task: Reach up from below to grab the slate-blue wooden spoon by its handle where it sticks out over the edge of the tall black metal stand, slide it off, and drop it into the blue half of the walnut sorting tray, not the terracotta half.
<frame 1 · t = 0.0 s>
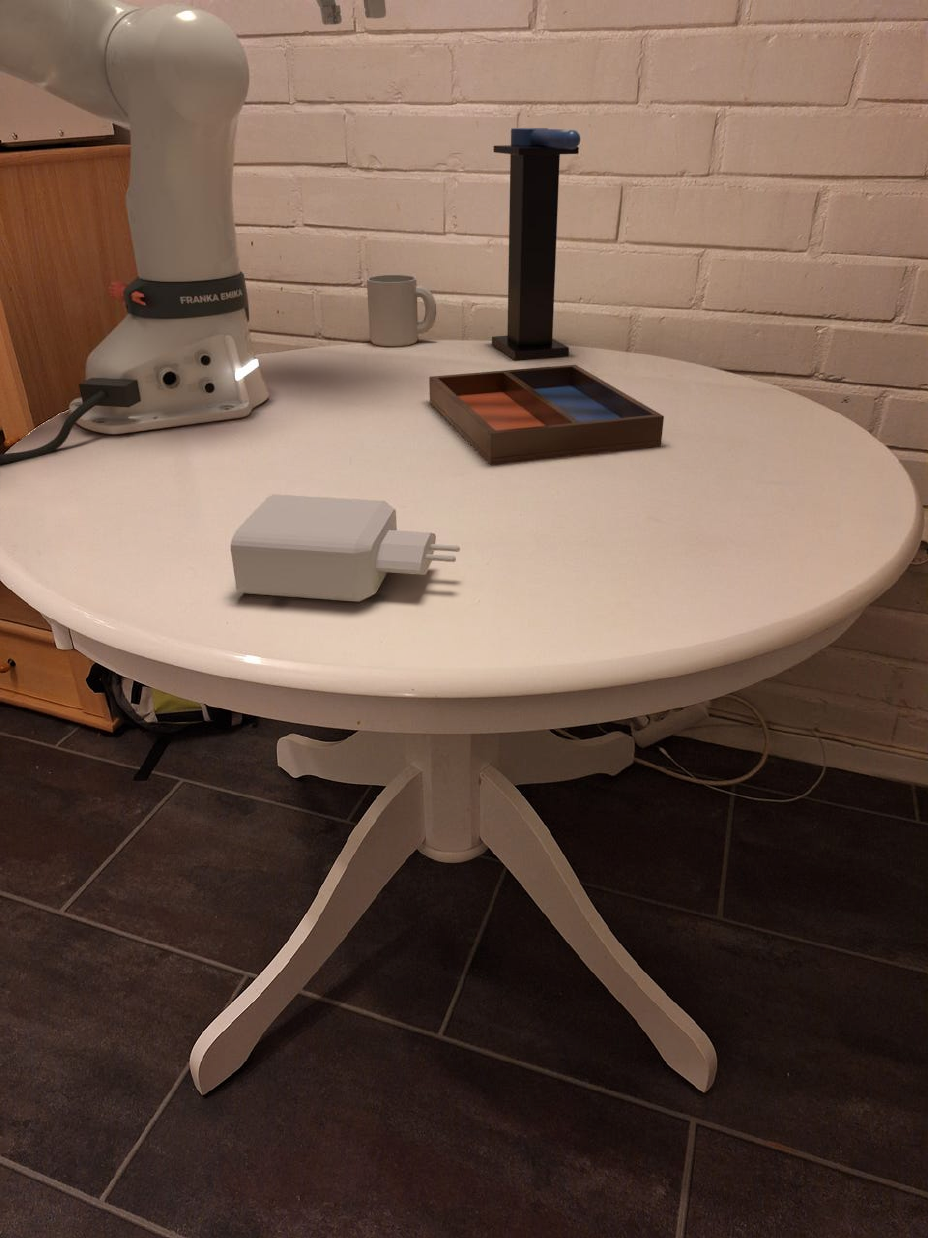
hand: (353, 21, 102), 39 cm above the table, tool pointing down, fingers open, 8 cm apart
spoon: (540, 146, 116), point 26 cm above the table, touching spoon stand
spoon stand: (529, 350, 130), on the table
cup: (403, 342, 136), on the table
charger: (357, 580, 67), on the table
sorting tray: (537, 422, 100), on the table
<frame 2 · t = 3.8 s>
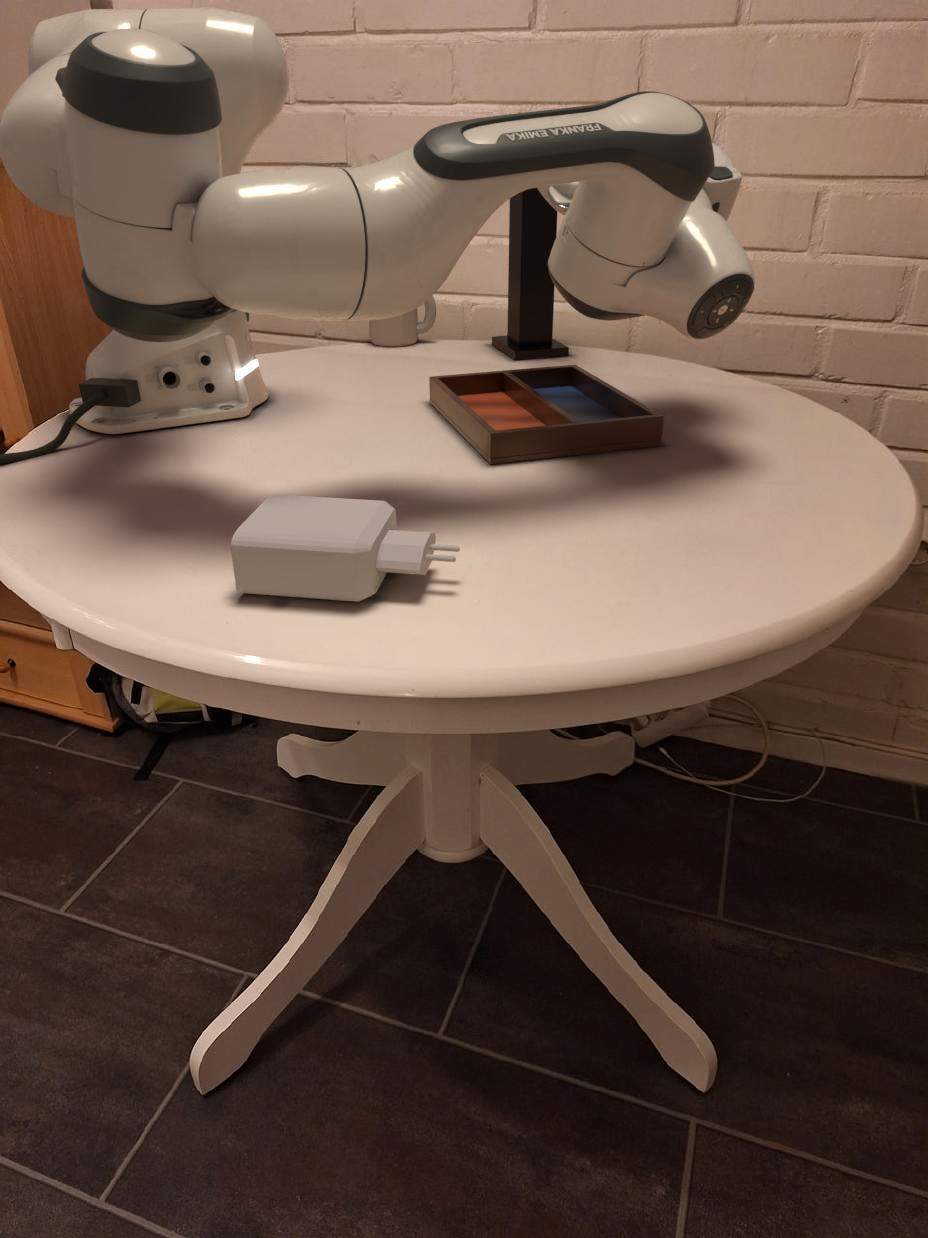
hand: (607, 134, 97), 28 cm above the table, tool pointing upward, fingers open, 8 cm apart
nothing on the table moved.
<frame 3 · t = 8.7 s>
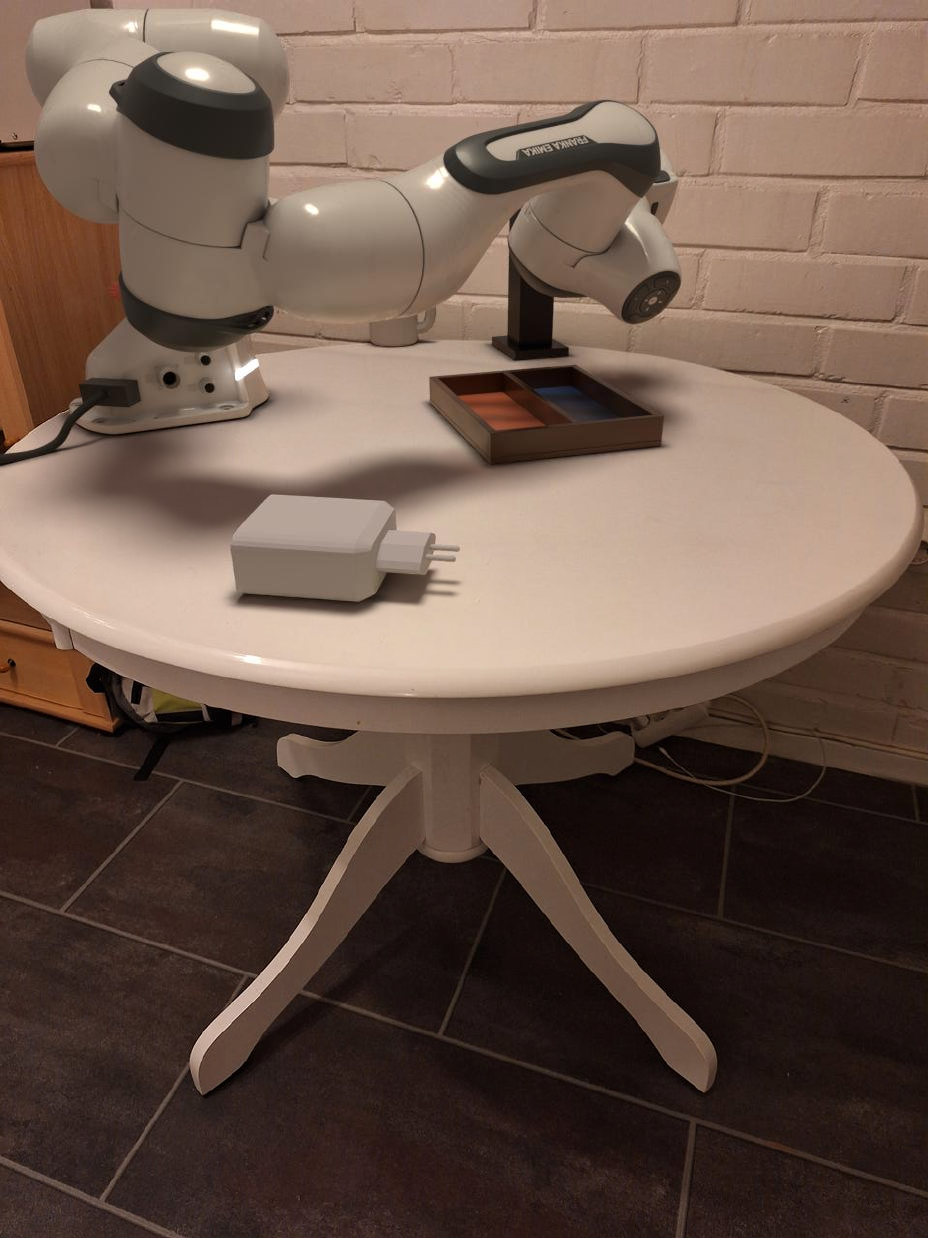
hand: (564, 134, 109), 27 cm above the table, tool pointing upward, fingers closed on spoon, 2 cm apart
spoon: (540, 146, 116), point 26 cm above the table, touching gripper, spoon stand
everything else where it was.
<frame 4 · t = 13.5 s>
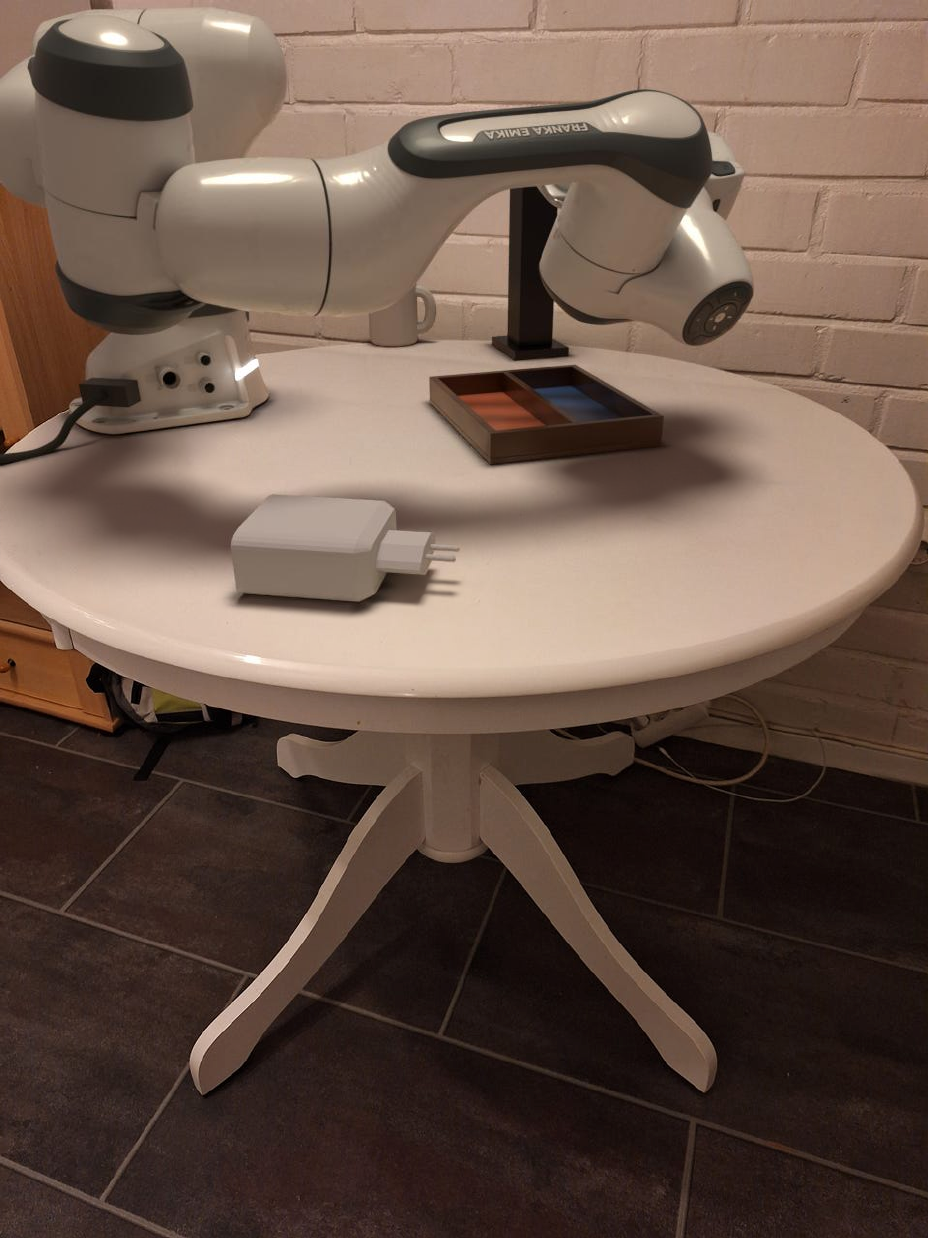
hand: (605, 120, 93), 29 cm above the table, tool pointing upward, fingers closed on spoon, 2 cm apart
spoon: (575, 134, 100), point 28 cm above the table, touching gripper
everything else where it was.
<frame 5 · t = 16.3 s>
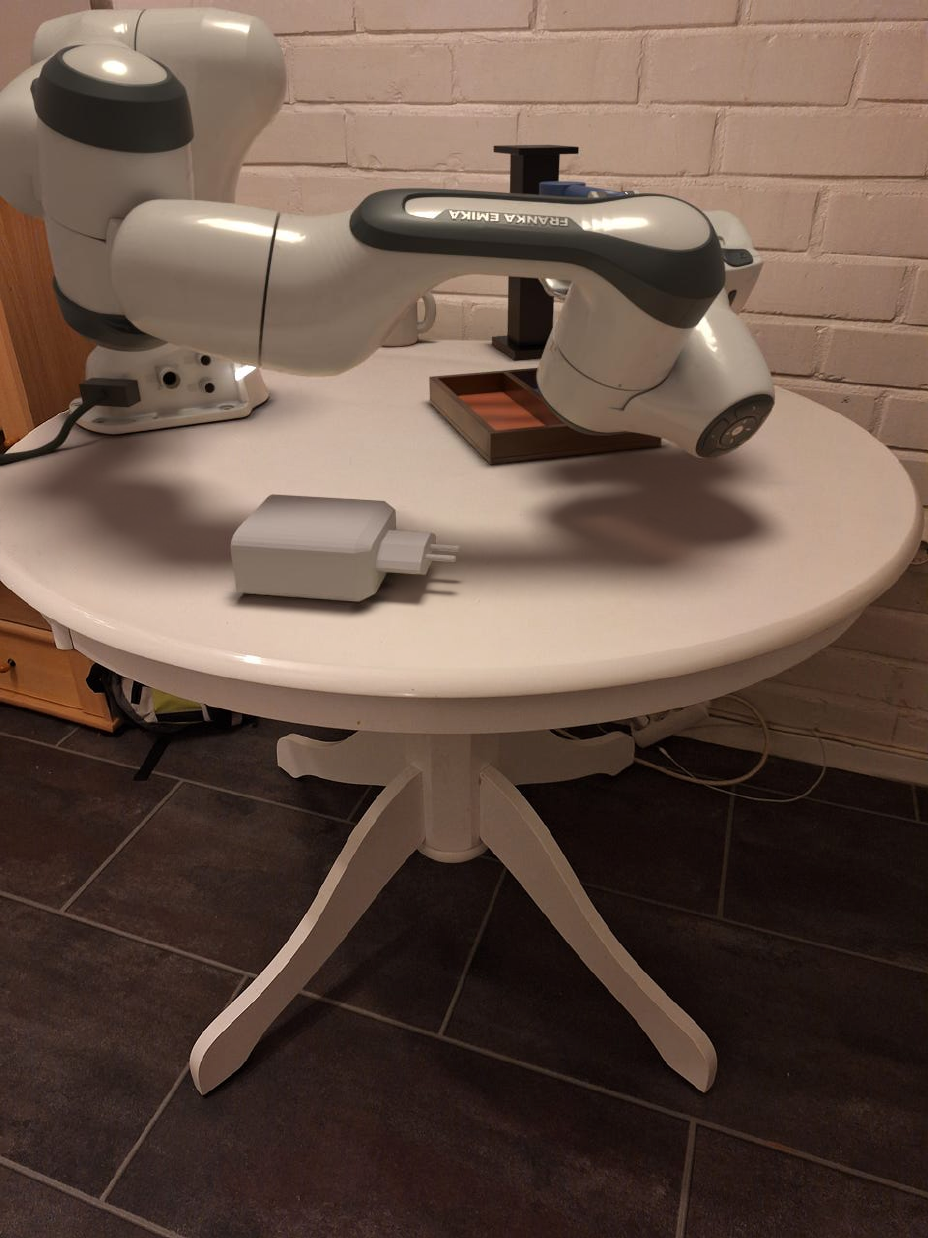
hand: (611, 197, 85), 23 cm above the table, tool pointing upward, fingers closed on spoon, 2 cm apart
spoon: (577, 206, 92), point 21 cm above the table, touching gripper
everything else where it was.
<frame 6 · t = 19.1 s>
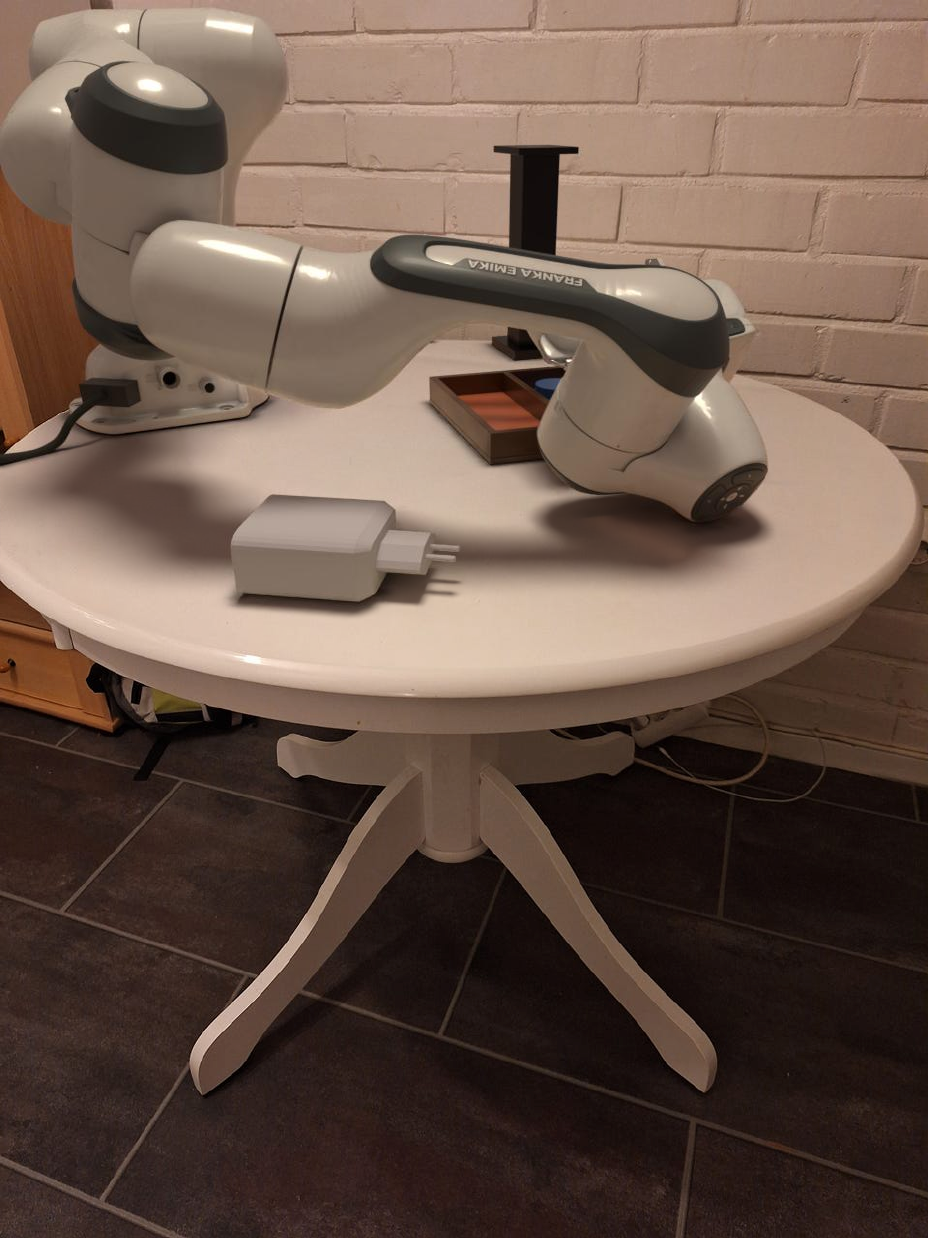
hand: (606, 265, 88), 17 cm above the table, tool pointing upward, fingers open, 8 cm apart
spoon: (569, 410, 101), point 1 cm above the table, touching sorting tray
everything else where it was.
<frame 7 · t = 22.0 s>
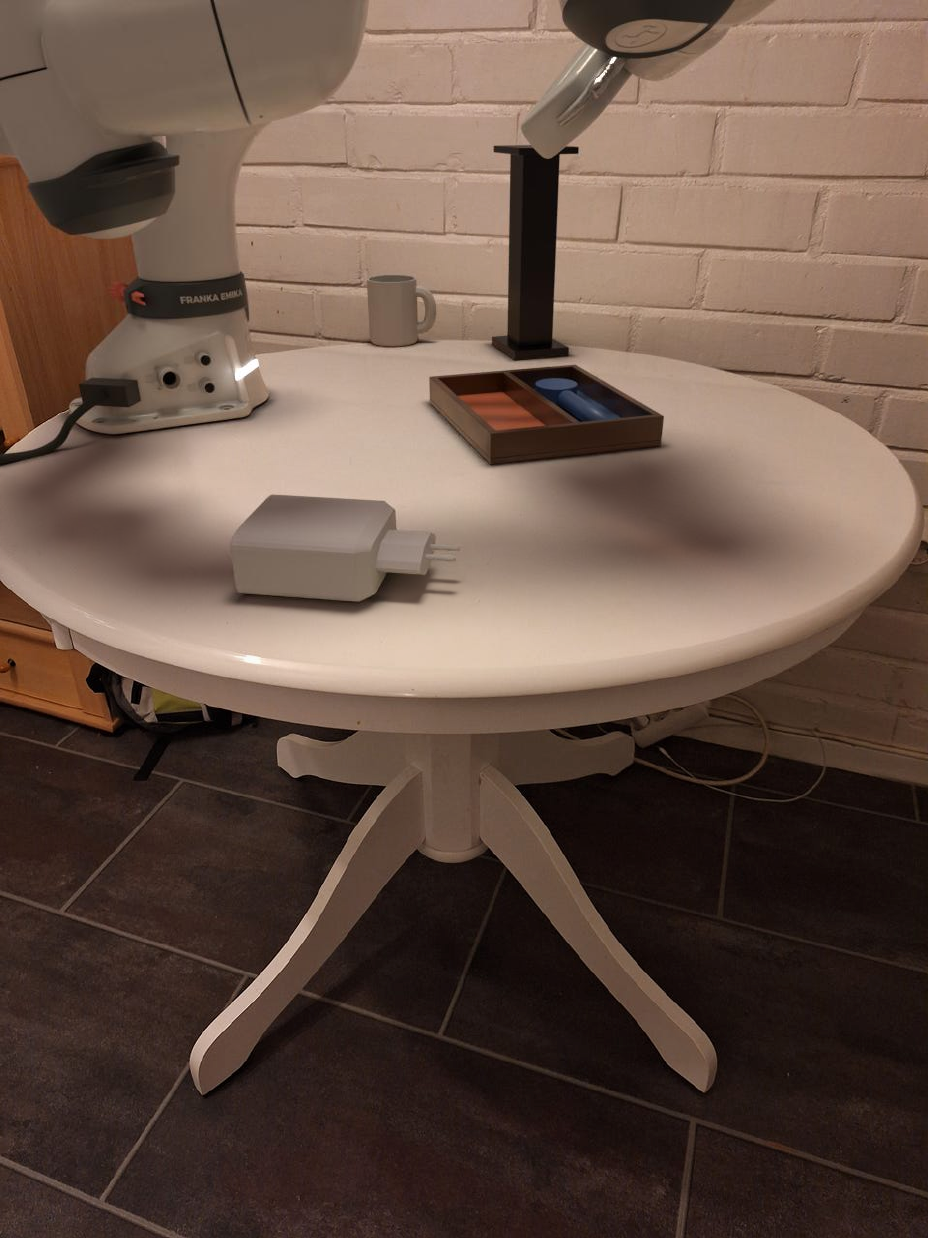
hand: (564, 89, 81), 32 cm above the table, tool tilted 70°, fingers open, 8 cm apart
nothing on the table moved.
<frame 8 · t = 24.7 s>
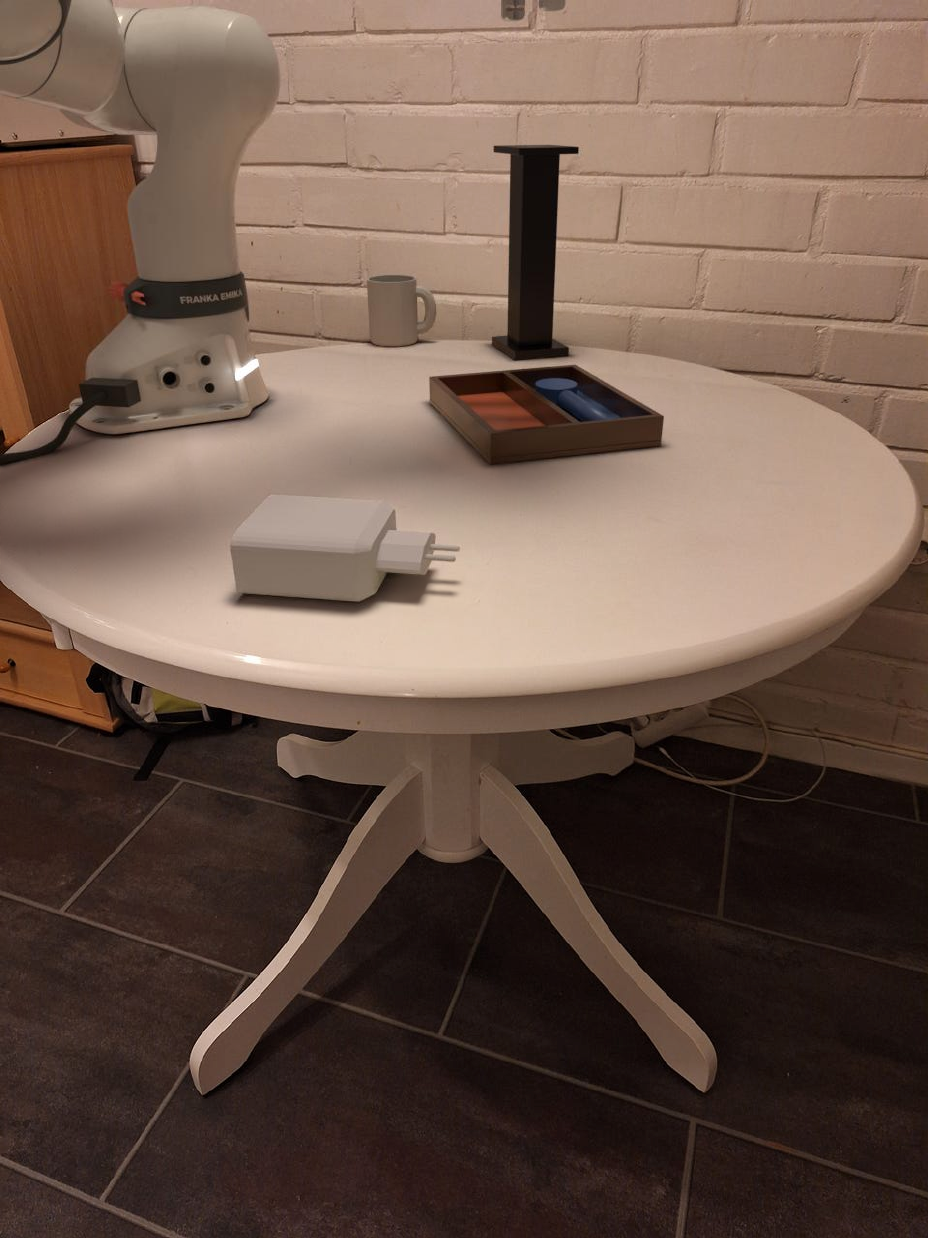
hand: (531, 15, 78), 37 cm above the table, tool pointing down, fingers open, 8 cm apart
nothing on the table moved.
at the end: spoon 1.6 cm from the target spot on the sorting tray, point 0.8 cm above the sorting tray's base; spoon touching sorting tray; the gripper is holding nothing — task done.
